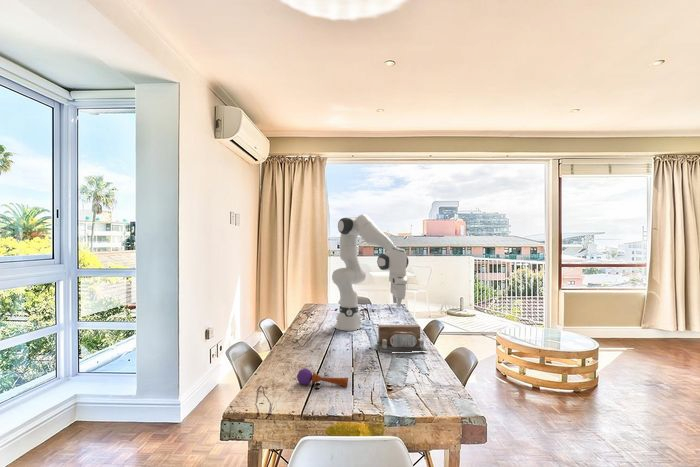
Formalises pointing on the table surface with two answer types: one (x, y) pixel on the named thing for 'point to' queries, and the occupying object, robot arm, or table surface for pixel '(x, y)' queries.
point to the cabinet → (388, 329)
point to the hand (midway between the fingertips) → (396, 304)
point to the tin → (402, 339)
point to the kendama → (318, 378)
